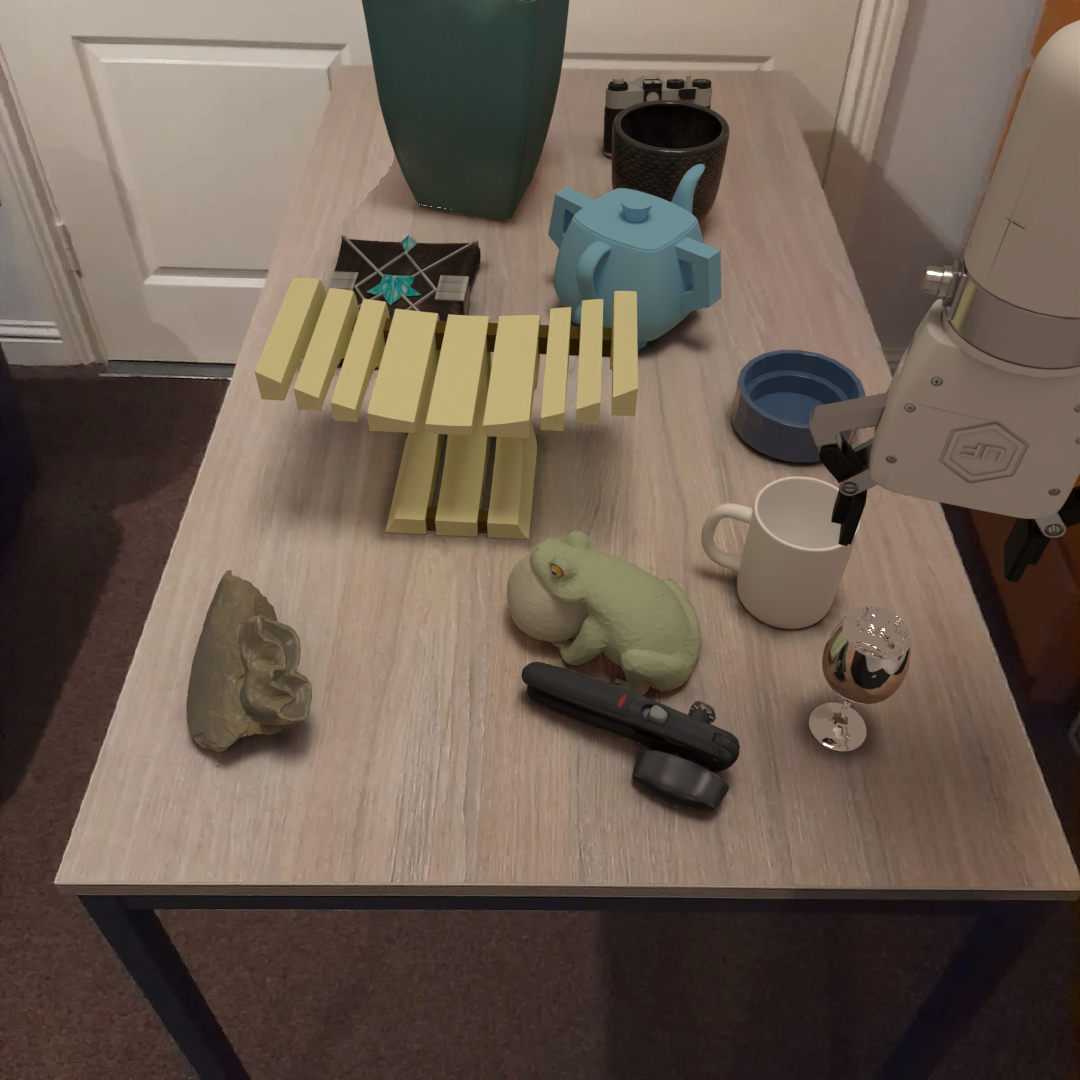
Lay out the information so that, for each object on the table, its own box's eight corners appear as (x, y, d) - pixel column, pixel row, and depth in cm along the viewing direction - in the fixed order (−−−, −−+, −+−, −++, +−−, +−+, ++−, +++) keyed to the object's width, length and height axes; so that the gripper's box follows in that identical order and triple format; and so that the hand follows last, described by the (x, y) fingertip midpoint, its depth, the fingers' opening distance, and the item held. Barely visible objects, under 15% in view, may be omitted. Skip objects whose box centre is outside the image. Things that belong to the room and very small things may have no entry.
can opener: (748, 758, 76) (761, 717, 71) (709, 831, 72) (720, 792, 67) (548, 656, 82) (549, 614, 78) (501, 718, 78) (500, 676, 74)
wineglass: (784, 722, 78) (816, 627, 69) (831, 683, 80) (868, 587, 71) (843, 773, 75) (885, 681, 66) (890, 731, 77) (937, 636, 68)
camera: (694, 135, 148) (700, 62, 142) (710, 156, 139) (717, 78, 133) (596, 138, 147) (598, 64, 141) (605, 159, 139) (608, 81, 133)
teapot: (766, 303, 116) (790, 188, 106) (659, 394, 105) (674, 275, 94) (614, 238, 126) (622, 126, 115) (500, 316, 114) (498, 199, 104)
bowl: (858, 401, 104) (870, 362, 101) (846, 478, 97) (859, 439, 93) (741, 378, 107) (749, 340, 103) (721, 452, 99) (728, 413, 95)
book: (460, 376, 107) (457, 337, 103) (303, 368, 107) (295, 330, 104) (481, 265, 121) (480, 228, 118) (344, 259, 122) (338, 222, 118)
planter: (737, 223, 129) (753, 124, 119) (669, 265, 122) (681, 164, 112) (652, 185, 135) (662, 89, 126) (584, 223, 128) (588, 124, 119)
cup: (824, 643, 83) (852, 562, 76) (683, 604, 86) (697, 522, 78) (838, 572, 88) (866, 490, 81) (705, 538, 91) (721, 455, 84)
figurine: (534, 565, 89) (535, 484, 81) (713, 626, 84) (730, 546, 77) (483, 649, 82) (479, 569, 75) (673, 720, 78) (689, 643, 70)
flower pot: (569, 168, 138) (577, -61, 118) (533, 242, 125) (534, -1, 104) (432, 150, 141) (415, -76, 121) (382, 221, 128) (354, -19, 108)
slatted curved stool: (622, 428, 101) (636, 274, 88) (622, 543, 90) (637, 388, 77) (328, 414, 102) (299, 260, 89) (293, 527, 91) (254, 371, 78)
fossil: (344, 715, 81) (322, 709, 71) (222, 772, 79) (182, 774, 70) (277, 558, 83) (247, 531, 73) (158, 611, 82) (111, 591, 72)
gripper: (841, 318, 47) (775, 559, 60) (1242, 387, 44) (1082, 627, 56) (854, 237, 52) (790, 476, 65) (1215, 294, 49) (1074, 534, 61)
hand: (926, 546), depth 60 cm, fingers open, 9 cm apart
